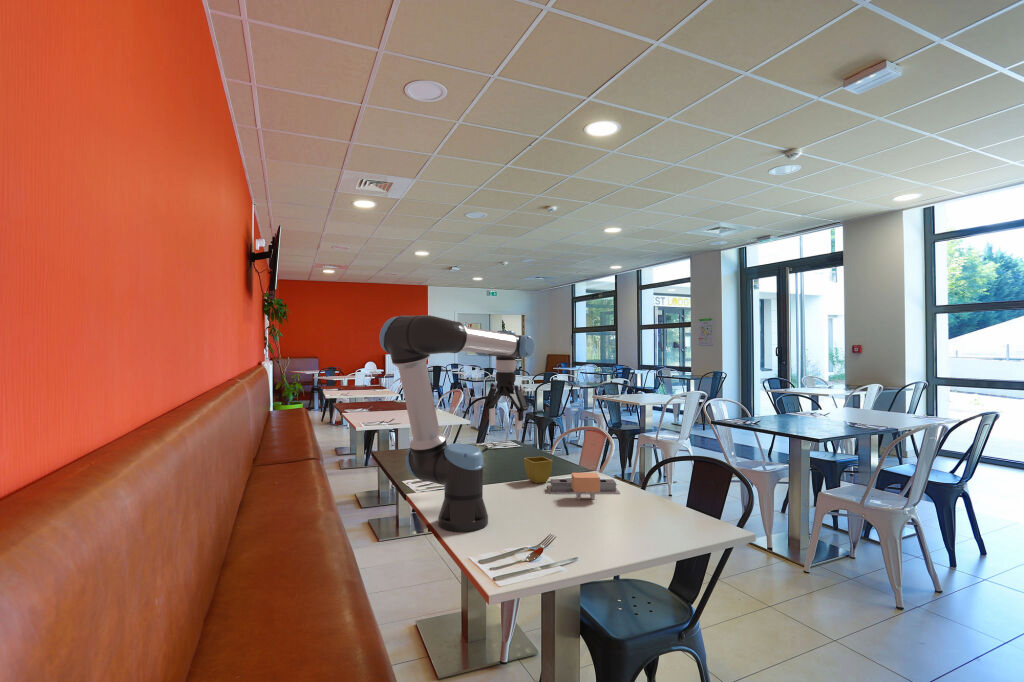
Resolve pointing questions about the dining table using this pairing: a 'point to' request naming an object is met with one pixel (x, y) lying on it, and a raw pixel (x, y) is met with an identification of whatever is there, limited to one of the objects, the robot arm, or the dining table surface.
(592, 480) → the orange tapered block
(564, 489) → the rail
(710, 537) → the dining table surface
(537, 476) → the flower pot
